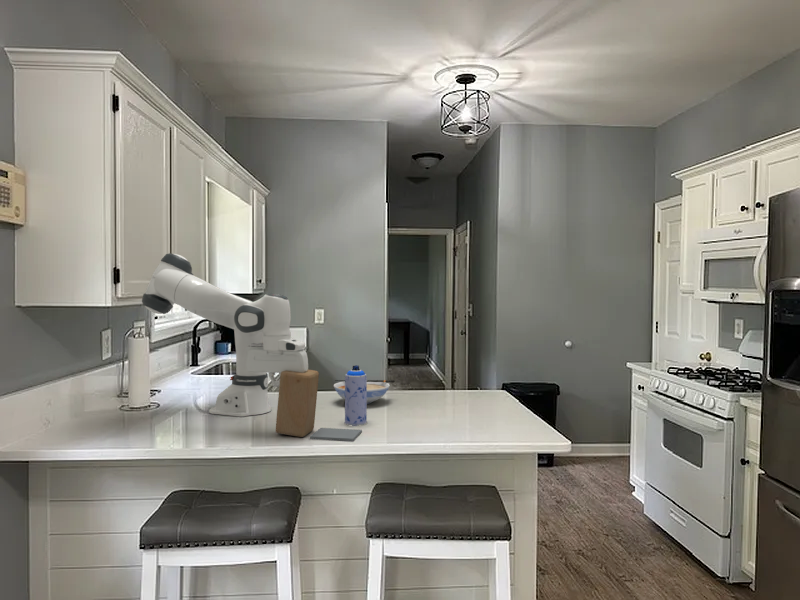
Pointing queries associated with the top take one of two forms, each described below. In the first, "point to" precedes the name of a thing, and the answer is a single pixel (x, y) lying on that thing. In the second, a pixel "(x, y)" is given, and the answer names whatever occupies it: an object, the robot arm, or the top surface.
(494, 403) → the top surface
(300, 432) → the wooden block
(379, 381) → the ramen bowl
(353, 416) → the aerosol can
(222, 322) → the robot arm
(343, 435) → the mat
